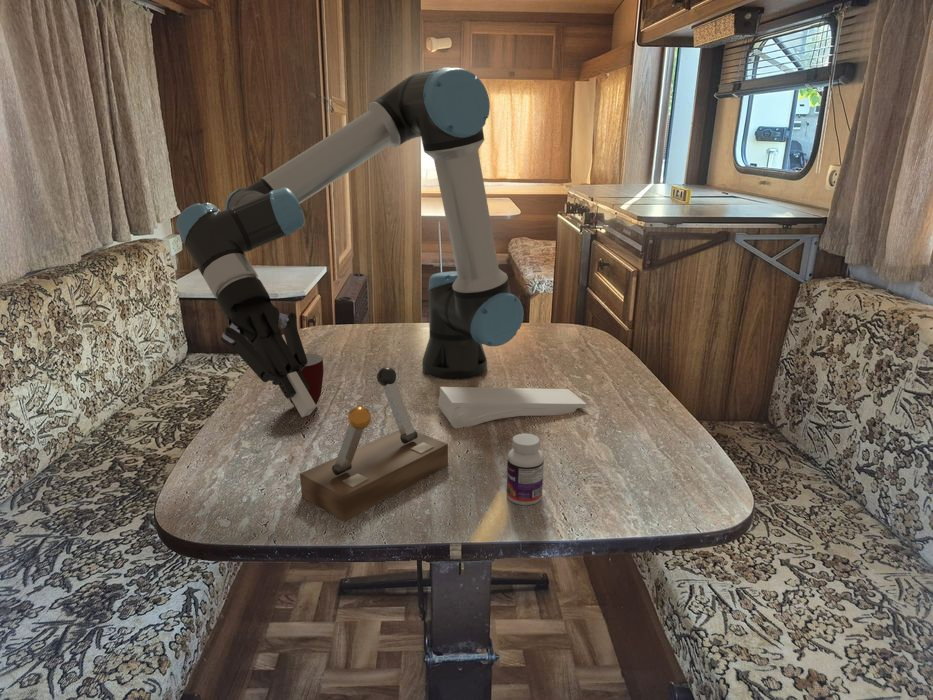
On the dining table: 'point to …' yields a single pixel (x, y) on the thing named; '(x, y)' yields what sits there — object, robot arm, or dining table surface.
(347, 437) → the orange knob lever
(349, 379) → the dining table surface
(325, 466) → the switch box
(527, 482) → the pill bottle
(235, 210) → the robot arm
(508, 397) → the wall bracket
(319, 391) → the mug
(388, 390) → the black knob lever
